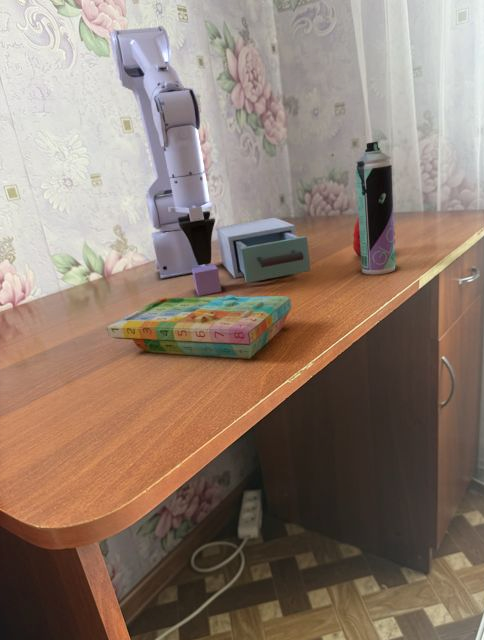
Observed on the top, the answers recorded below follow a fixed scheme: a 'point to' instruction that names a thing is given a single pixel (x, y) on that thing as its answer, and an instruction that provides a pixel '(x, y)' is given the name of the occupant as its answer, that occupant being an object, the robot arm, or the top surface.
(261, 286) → the top surface
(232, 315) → the puzzle game
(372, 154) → the spray can
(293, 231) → the mini drawer cabinet
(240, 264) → the open teal drawer
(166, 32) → the robot arm
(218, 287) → the lavender toy cube
